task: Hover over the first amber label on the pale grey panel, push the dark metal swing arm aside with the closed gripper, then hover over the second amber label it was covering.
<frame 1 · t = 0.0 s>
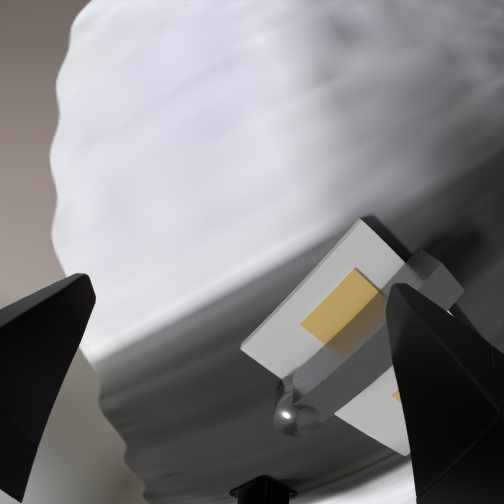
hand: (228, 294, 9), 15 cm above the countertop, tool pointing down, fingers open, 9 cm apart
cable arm: (359, 352, 21), point 4 cm above the countertop, hinge at 0.0°
label panel: (392, 365, 25), on the countertop
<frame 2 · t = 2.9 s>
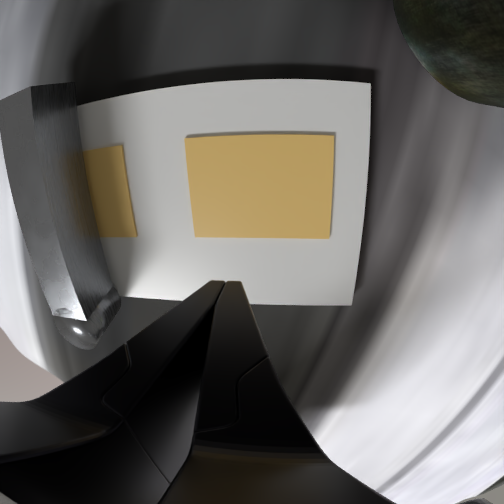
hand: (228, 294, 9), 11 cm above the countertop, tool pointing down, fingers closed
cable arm: (59, 225, 17), point 4 cm above the countertop, hinge at 0.0°
mug: (479, 46, 12), on the countertop
label panel: (166, 200, 19), on the countertop
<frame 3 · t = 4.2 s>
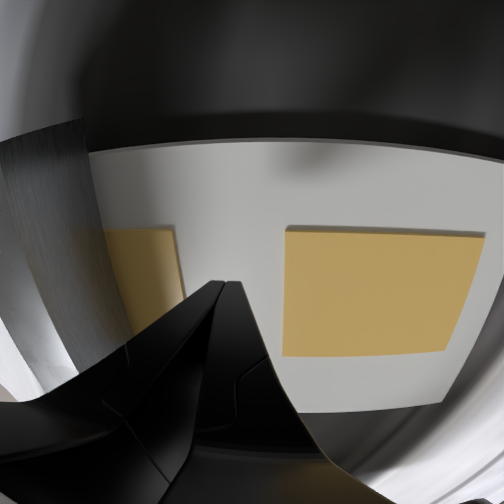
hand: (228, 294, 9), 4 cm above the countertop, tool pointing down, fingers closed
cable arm: (80, 346, 11), point 4 cm above the countertop, hinge at 0.0°
label panel: (238, 303, 14), on the countertop
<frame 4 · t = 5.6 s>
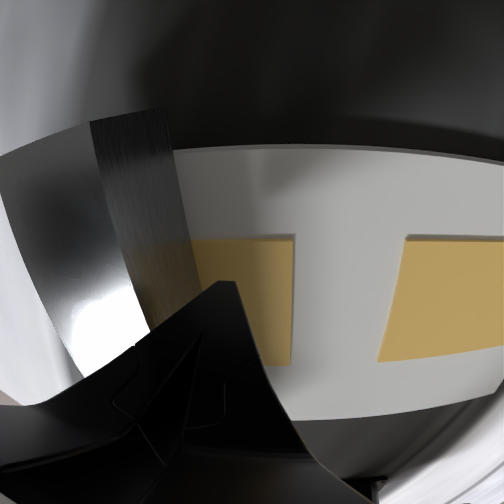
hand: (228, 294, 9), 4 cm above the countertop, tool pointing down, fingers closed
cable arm: (163, 375, 10), point 4 cm above the countertop, hinge at 3.9°, touching gripper
label panel: (336, 313, 13), on the countertop
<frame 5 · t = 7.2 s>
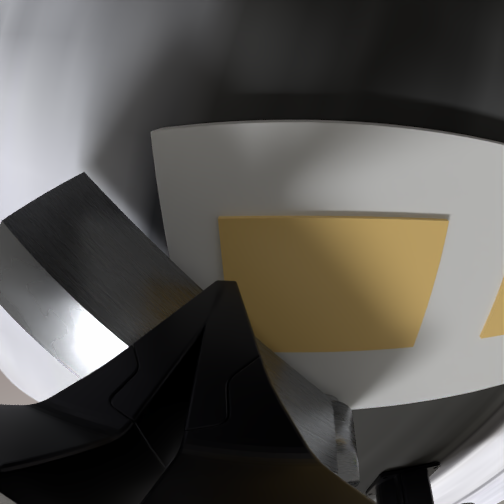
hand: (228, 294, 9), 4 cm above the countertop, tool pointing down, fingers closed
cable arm: (217, 389, 10), point 4 cm above the countertop, hinge at 39.1°, touching gripper
label panel: (453, 293, 12), on the countertop
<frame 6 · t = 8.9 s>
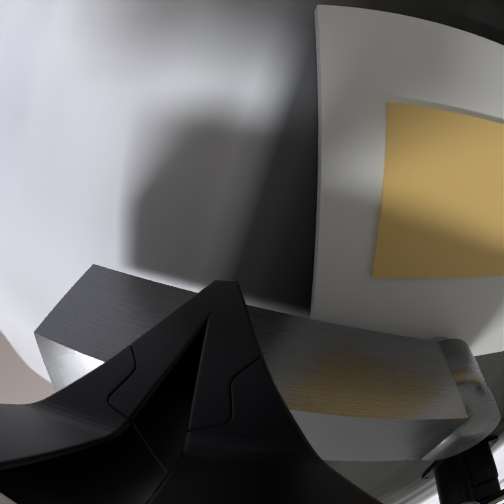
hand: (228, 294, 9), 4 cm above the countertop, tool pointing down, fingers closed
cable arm: (303, 388, 10), point 4 cm above the countertop, hinge at 75.3°, touching gripper
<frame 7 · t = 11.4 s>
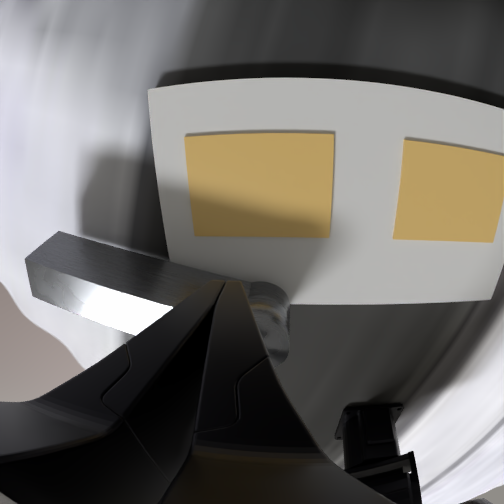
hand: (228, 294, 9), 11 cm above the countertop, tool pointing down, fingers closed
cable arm: (152, 297, 18), point 4 cm above the countertop, hinge at 75.4°
label panel: (361, 199, 18), on the countertop
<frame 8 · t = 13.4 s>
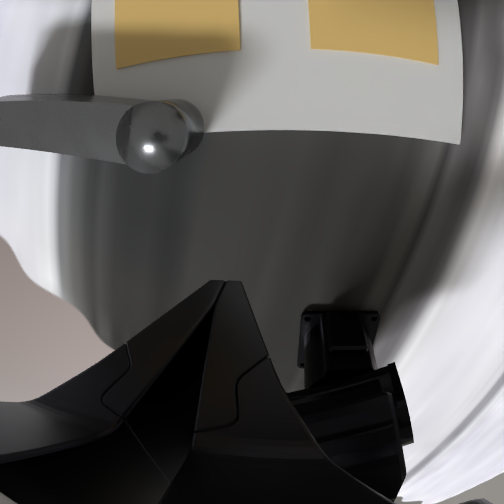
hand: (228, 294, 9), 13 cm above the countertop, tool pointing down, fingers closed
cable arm: (67, 121, 15), point 4 cm above the countertop, hinge at 75.4°
label panel: (274, 22, 15), on the countertop
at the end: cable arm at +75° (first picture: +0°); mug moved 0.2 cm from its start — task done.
